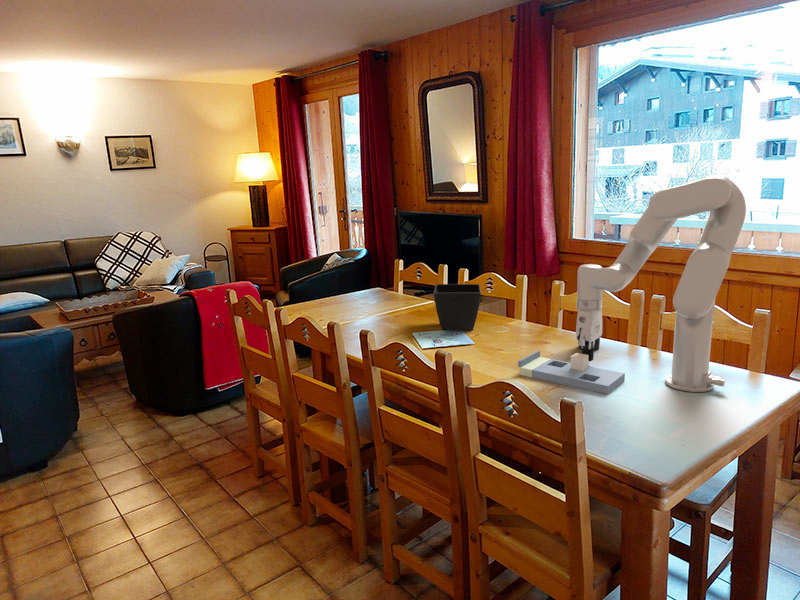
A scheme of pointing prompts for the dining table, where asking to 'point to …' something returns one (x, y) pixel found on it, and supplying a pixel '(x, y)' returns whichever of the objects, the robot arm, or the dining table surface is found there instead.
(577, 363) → the cream block
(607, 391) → the board
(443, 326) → the flower pot
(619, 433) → the dining table surface
